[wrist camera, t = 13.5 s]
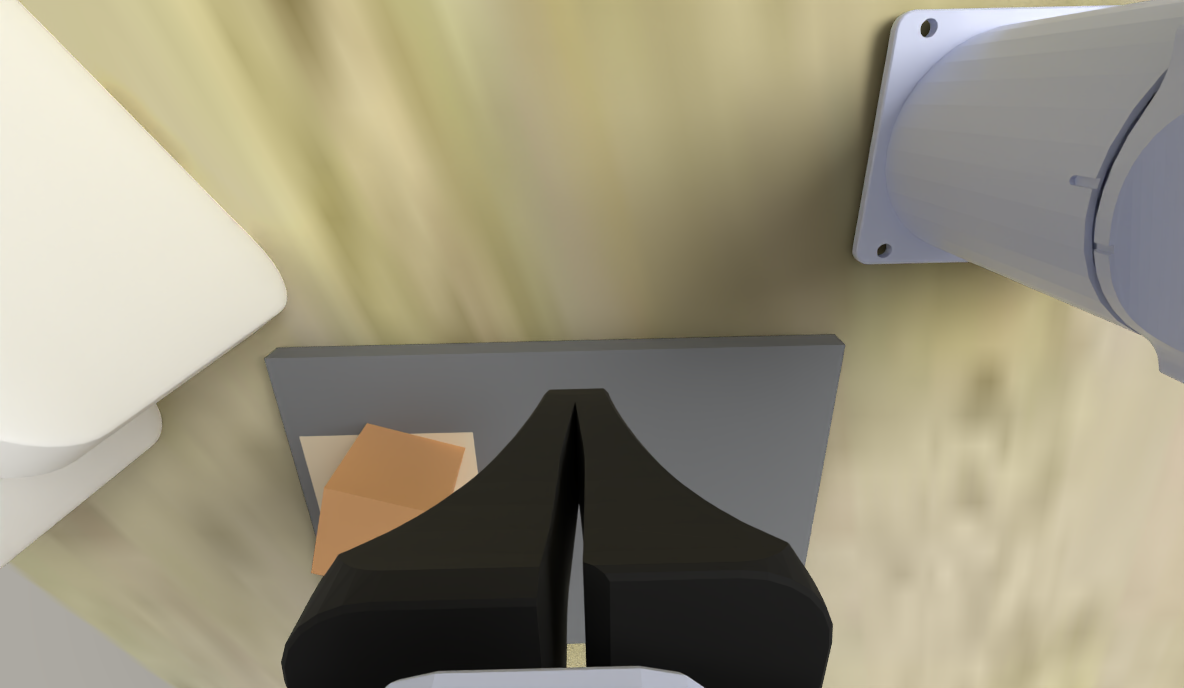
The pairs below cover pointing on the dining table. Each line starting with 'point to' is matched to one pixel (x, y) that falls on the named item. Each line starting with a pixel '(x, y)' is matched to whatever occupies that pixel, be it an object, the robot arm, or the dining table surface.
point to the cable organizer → (99, 282)
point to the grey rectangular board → (622, 367)
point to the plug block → (382, 489)
